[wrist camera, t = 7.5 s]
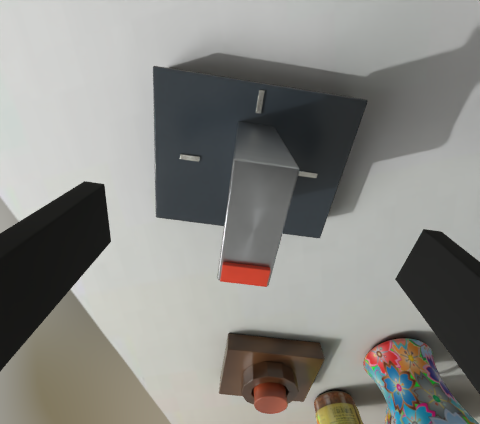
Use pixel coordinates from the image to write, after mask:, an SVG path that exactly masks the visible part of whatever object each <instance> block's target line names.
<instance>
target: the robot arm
mask: <svg viewBox="0 0 480 424" xmlns="http://www.w3.org/2000/svg"><path fill="white" fill-rule="evenodd" d="M110 242H111V238H110V229H109V221H108V213H107V204H106V196H105V187H104V184H99V183H92V182H85V181H84V182H83V183H81V184H80V185H78V186H76V187H75V188H73V189H72V190H70V191H68V192H67V193H65V194H63V195H62V196H60V197H59V198H57V199H55V200H54V201H52V202H51V203H49V204H47V205H46V206H44V207H42V208H41V209H39V210H38V211H36V212H34V213H33V214H31V215H30V216H28V217H26V218H25V219H23V220H21V221H20V222H18V223H17V224H15V225H13V226H12V227H10V228H8V229H7V230H5V231H4V232H2V233H0V371H1V370H2V369H3V367H4V366H5V365H6V364H7V363H8V361H9V360H10V359H11V358H12V357H13V356H14V354H15V353H16V352H17V351H18V350H19V349H20V347H21V346H22V345H23V344H24V343H25V342H26V340H27V339H28V338H29V337H30V336H31V335H32V333H33V332H34V331H35V330H36V329H37V328H38V326H39V325H40V324H41V323H42V322H43V321H44V319H45V318H46V317H47V316H48V315H49V313H50V312H51V311H52V310H53V309H54V308H55V306H56V305H57V304H58V303H59V302H60V301H61V299H62V298H63V297H64V296H65V295H66V294H67V292H68V291H69V290H70V289H71V288H72V287H73V285H74V284H75V283H76V282H77V281H78V280H79V278H80V277H81V276H82V275H83V274H84V272H85V271H86V270H87V269H88V268H89V267H90V265H91V264H92V263H93V262H94V261H95V260H96V258H97V257H98V256H99V255H100V254H101V253H102V251H103V250H104V249H105V248H106V247H107V246H108V244H109V243H110ZM396 281H397V282H398V283H399V285H400V286H401V288H402V289H403V290H404V292H405V293H406V294H407V296H408V297H409V298H410V300H411V301H412V303H413V304H414V305H415V307H416V308H417V309H418V311H419V312H420V313H421V315H422V316H423V318H424V319H425V320H426V322H427V323H428V324H429V326H430V327H431V328H432V330H433V331H434V332H435V334H436V335H437V337H438V338H439V339H440V341H441V342H442V343H443V345H444V346H445V347H446V349H447V350H448V352H449V353H450V354H451V356H452V357H453V358H454V360H455V361H456V362H457V364H458V365H459V367H460V368H461V369H462V371H463V372H464V373H465V375H466V376H467V377H468V379H469V380H470V381H471V383H472V384H473V386H474V387H475V388H476V390H477V391H478V392H479V394H480V262H479V261H478V260H476V259H475V258H474V257H473V256H471V255H470V254H469V253H468V252H466V251H465V250H464V249H463V248H461V247H460V246H459V245H457V244H456V243H455V242H454V241H452V240H451V239H450V238H449V237H447V236H446V235H445V234H444V233H442V232H439V231H432V230H425V229H424V230H423V231H422V233H421V235H420V237H419V238H418V240H417V242H416V244H415V245H414V247H413V249H412V251H411V253H410V254H409V256H408V258H407V260H406V261H405V263H404V265H403V267H402V268H401V270H400V272H399V274H398V275H397V277H396Z"/></svg>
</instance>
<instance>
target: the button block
mask: <svg viewBox="0 0 480 424" xmlns="http://www.w3.org/2000/svg"><path fill="white" fill-rule="evenodd" d="M323 361H324V355H323V352H322V348H321V345H320V343H317V342H307V341H298V340H288V339H279V338H270V337H260V336H251V335H241V334H232V333H229V334H228V338H227V344H226V349H225V355H224V360H223V366H222V371H221V377H220V388H219V394H227V395H237V396H243V397H244V398H245V400H246V401H247V402H249V403H251V404H254V387H256V386H257V385H259V384H262V383H267V382H272V383H280V384H282V385H284V386H285V388H286V395H287V402H288V403H290V402H292V401H302V402H304V400H305V398H306V396H307V394H308V392H309V390H310V388H311V386H312V384H313V382H314V380H315V378H316V376H317V374H318V371H319V369H320V367H321V365H322V363H323Z"/></svg>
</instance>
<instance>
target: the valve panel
mask: <svg viewBox="0 0 480 424" xmlns="http://www.w3.org/2000/svg"><path fill="white" fill-rule="evenodd" d="M153 87H154V141H155V196H156V217H158V218H165V219H173V220H181V221H189V222H197V223H204V224H212V225H220V226H224V225H225V217H226V210H227V203H228V195H229V188H230V180H231V173H232V166H233V158H234V151H235V143H236V136H237V128H238V122H245V123H252V124H258V125H265V126H271V127H274V128H275V129H276V131H277V133H278V134H279V136H280V138H281V139H282V141H283V143H284V144H285V146H286V147H287V149H288V151H289V152H290V154H291V156H292V157H293V159H294V161H295V162H296V164H297V166H298V167H299V172H298V176H297V180H296V184H295V187H294V191H293V195H292V199H291V202H290V206H289V210H288V214H287V217H286V221H285V225H284V229H283V233H282V234H290V235H298V236H306V237H313V238H320V236H321V233H322V230H323V228H324V225H325V222H326V219H327V216H328V213H329V210H330V208H331V205H332V202H333V199H334V196H335V193H336V190H337V187H338V185H339V182H340V179H341V176H342V173H343V170H344V167H345V164H346V162H347V159H348V156H349V153H350V150H351V147H352V144H353V141H354V139H355V136H356V133H357V130H358V127H359V124H360V121H361V119H362V116H363V113H364V110H365V107H366V104H367V100H364V99H359V98H353V97H347V96H341V95H335V94H328V93H322V92H316V91H310V90H303V89H297V88H291V87H285V86H278V85H272V84H266V83H259V82H253V81H247V80H241V79H234V78H228V77H222V76H216V75H209V74H203V73H197V72H191V71H184V70H178V69H172V68H165V67H158V66H153Z"/></svg>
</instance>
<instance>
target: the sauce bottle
mask: <svg viewBox="0 0 480 424" xmlns="http://www.w3.org/2000/svg"><path fill="white" fill-rule="evenodd" d="M314 406H315V411H316V419H317V424H363V422H362V420H361V417H360V414H359V411H358V409H357V407H356V405H355V403H354V401H353V398H352V397H351V396H350V395H349V394H348V393H346V392H343V391H329V392H326V393H323V394H321V395H319V396H318V397H317V398H316V399H315V402H314Z"/></svg>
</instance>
